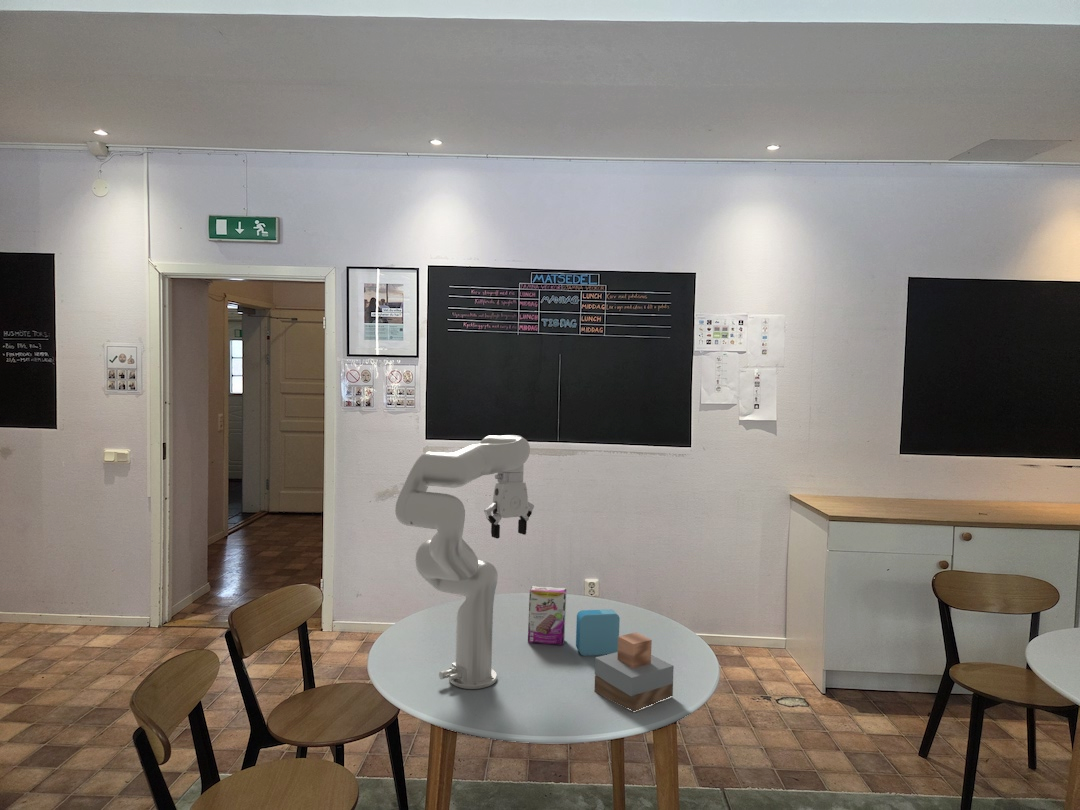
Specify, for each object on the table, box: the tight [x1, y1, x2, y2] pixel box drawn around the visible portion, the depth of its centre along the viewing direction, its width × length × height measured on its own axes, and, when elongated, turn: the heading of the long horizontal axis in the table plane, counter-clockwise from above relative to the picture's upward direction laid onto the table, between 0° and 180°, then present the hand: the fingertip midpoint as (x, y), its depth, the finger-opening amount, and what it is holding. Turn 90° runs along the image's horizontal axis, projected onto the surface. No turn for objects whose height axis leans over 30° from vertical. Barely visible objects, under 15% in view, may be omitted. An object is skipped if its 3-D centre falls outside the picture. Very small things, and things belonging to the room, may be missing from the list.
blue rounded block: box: [575, 608, 621, 657], centre depth 196 cm, size 12×4×12 cm, turn 102°
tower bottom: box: [594, 675, 674, 711], centre depth 169 cm, size 14×14×4 cm
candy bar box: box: [527, 585, 567, 646], centre depth 203 cm, size 11×5×16 cm, turn 84°
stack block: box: [617, 632, 653, 668], centre depth 169 cm, size 6×6×6 cm
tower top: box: [594, 652, 675, 696], centre depth 169 cm, size 14×14×4 cm
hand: (509, 535), depth 194 cm, fingers open, 9 cm apart
